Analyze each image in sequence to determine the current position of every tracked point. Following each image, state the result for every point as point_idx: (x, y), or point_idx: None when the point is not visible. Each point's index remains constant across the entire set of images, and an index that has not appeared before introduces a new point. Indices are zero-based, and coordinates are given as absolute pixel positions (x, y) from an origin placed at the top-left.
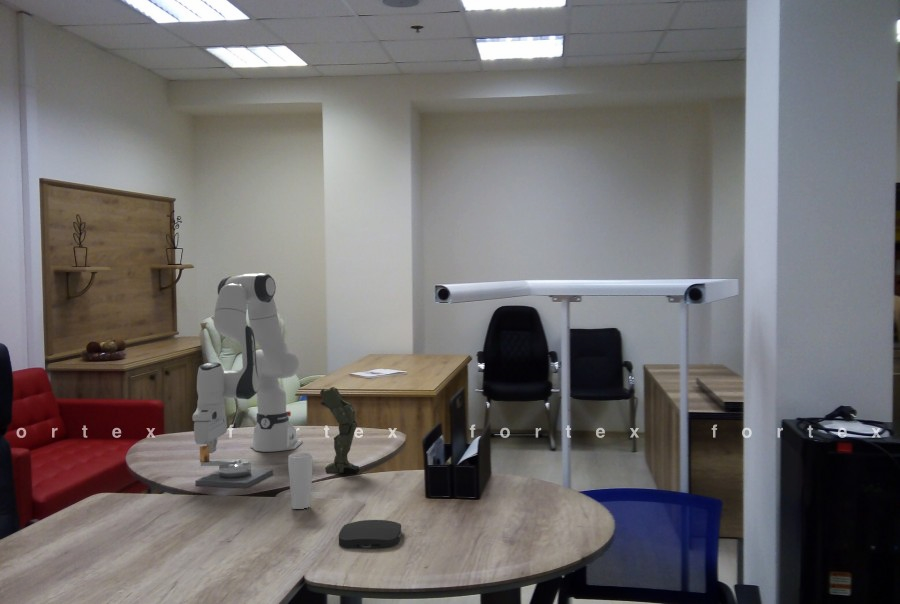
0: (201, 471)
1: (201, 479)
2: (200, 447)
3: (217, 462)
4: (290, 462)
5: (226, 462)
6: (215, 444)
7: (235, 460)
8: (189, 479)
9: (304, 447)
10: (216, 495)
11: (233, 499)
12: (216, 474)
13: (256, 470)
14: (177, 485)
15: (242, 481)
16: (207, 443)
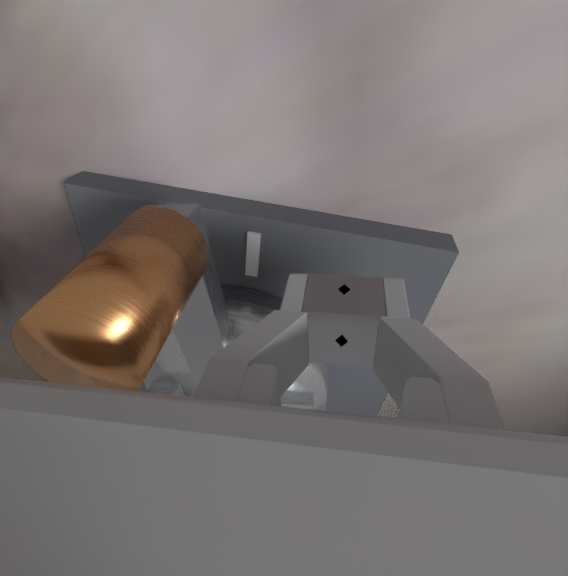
0: (527, 5)
1: (101, 213)
2: (13, 330)
3: (179, 337)
4: None
5: (195, 381)
6: (389, 386)
7: (281, 404)
8: (206, 38)
9: None
10: (3, 322)
11: (3, 375)
12: (240, 260)
13: (342, 409)
14: (19, 26)
15: (143, 389)
16: (215, 374)
